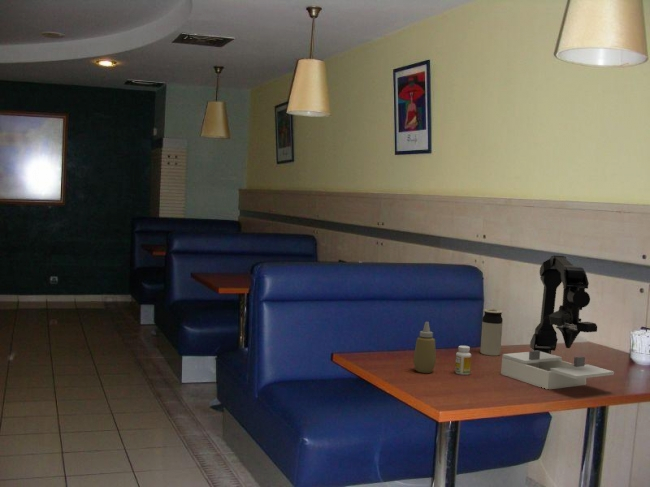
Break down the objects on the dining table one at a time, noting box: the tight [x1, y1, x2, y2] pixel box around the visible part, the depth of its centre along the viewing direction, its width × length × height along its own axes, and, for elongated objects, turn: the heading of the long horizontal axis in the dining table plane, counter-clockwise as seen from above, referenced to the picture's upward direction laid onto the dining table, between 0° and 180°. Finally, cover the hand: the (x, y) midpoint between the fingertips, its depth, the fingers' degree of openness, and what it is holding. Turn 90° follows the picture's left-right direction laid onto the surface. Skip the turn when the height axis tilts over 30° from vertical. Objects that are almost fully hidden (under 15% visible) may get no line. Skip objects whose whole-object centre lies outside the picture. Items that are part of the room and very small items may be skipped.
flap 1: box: [502, 350, 563, 364], centre depth 267 cm, size 18×11×4 cm, turn 120°
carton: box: [500, 357, 587, 390], centre depth 262 cm, size 19×22×6 cm
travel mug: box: [479, 308, 504, 357], centre depth 301 cm, size 8×8×18 cm
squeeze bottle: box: [413, 321, 437, 374], centre depth 265 cm, size 8×8×18 cm
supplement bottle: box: [454, 345, 472, 376], centre depth 265 cm, size 5×5×10 cm
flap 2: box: [550, 356, 615, 379], centre depth 247 cm, size 18×11×4 cm, turn 120°
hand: (567, 348), depth 255 cm, fingers closed
